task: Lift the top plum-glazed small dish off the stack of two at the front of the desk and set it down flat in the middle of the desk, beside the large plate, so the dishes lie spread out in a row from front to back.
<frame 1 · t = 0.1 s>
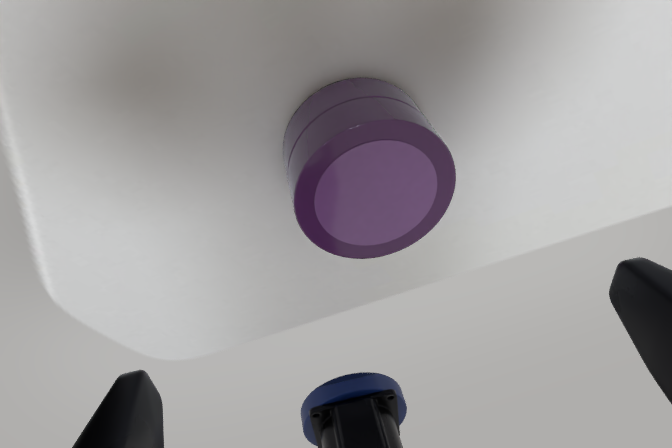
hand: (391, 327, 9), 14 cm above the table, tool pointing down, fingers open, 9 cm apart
bottom dish: (354, 146, 23), on the table, touching top dish
top dish: (364, 170, 21), point 2 cm above the table, touching bottom dish
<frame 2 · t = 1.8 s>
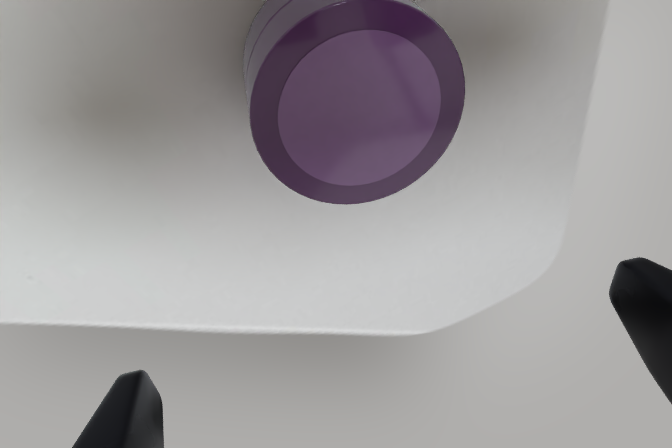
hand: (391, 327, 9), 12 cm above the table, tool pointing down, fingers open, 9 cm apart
bottom dish: (335, 66, 18), on the table, touching top dish
top dish: (346, 88, 17), point 2 cm above the table, touching bottom dish
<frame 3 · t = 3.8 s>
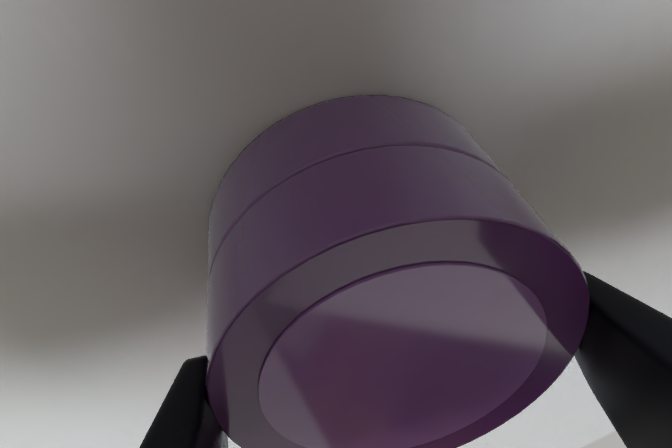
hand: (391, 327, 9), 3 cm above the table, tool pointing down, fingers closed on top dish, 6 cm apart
bottom dish: (354, 228, 12), on the table, touching top dish
top dish: (376, 290, 10), point 2 cm above the table, touching bottom dish, gripper
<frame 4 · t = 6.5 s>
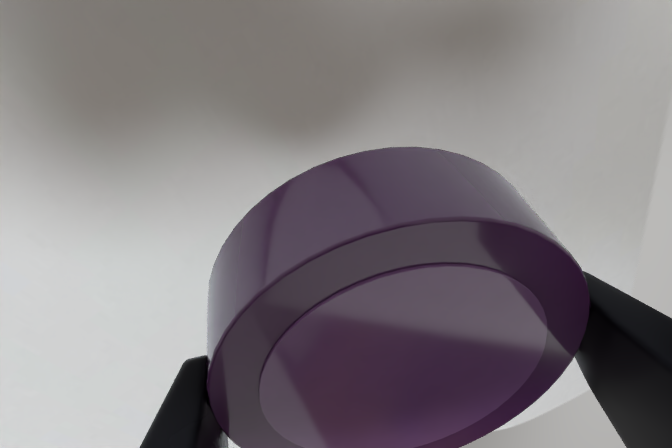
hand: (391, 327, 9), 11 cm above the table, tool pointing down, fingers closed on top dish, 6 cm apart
top dish: (376, 291, 10), point 10 cm above the table, touching gripper
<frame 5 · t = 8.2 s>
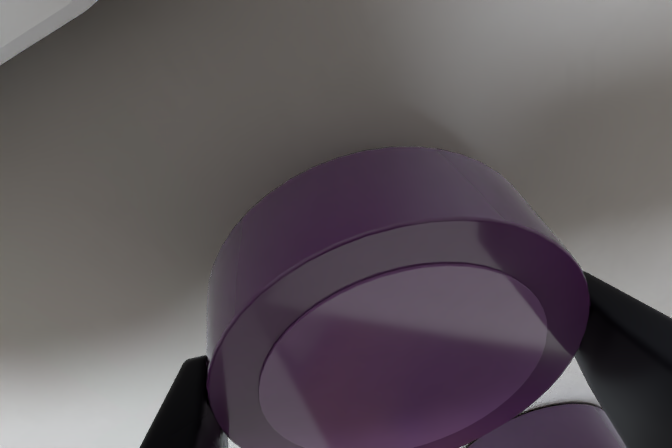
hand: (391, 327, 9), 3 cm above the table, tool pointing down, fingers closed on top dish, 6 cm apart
top dish: (376, 291, 10), point 2 cm above the table, touching gripper
when the fingers open (1 cm above the table, at t = 9.3 s): top dish stays where it is, on the table.
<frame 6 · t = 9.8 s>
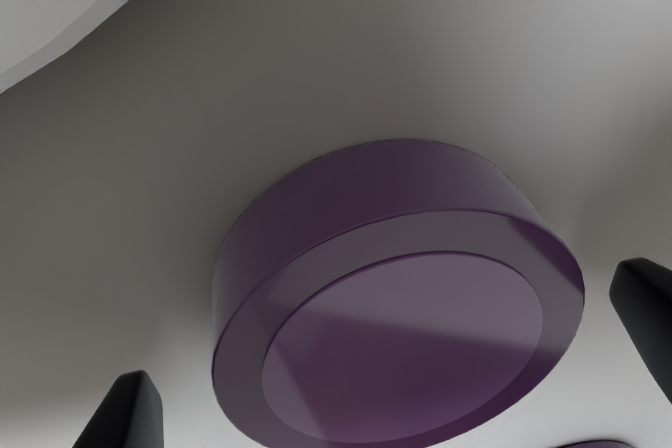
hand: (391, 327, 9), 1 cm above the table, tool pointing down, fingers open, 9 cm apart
top dish: (376, 282, 10), on the table
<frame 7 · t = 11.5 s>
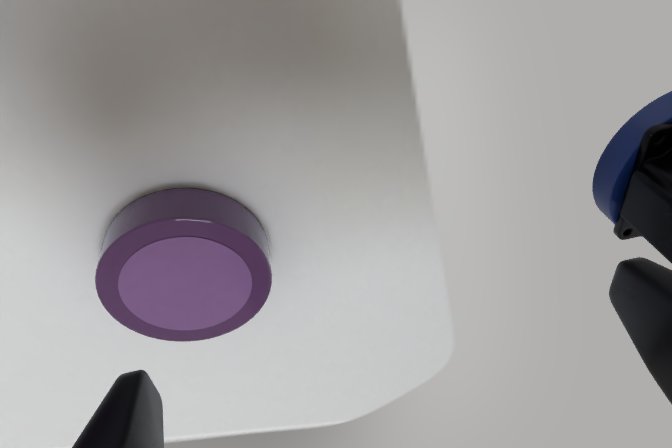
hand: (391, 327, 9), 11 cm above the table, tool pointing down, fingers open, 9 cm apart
bottom dish: (189, 253, 21), on the table
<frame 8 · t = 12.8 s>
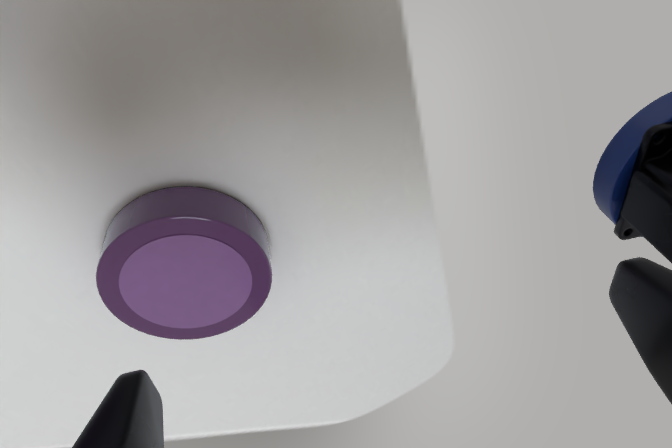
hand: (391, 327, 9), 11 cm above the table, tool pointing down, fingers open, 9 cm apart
bottom dish: (189, 251, 21), on the table
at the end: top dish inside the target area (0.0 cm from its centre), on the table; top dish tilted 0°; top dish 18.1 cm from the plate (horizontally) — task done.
